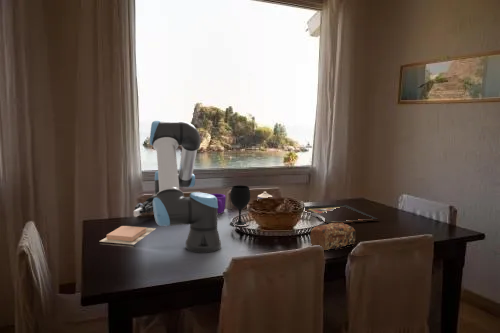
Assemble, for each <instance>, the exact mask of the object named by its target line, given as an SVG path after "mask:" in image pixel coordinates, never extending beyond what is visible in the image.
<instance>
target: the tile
mask: <svg viewBox="0 0 500 333" xmlns="http://www.w3.org/2000/svg"><path fill="white" fill-rule="evenodd" d="M131 226H132V225H121V226H119V227H118V228H115V229H114V230H113V231H111V232H108V233H107V234H106V237H107V239H108V240H116V241H128V242H132V241H134V240H135V239H137V238H138V237H139V236H141V235H142V234H144V233H145V232H146V228H144V227H145V226H134V227H131Z"/></svg>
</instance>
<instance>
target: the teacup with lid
mask: <svg viewBox="0 0 500 333" xmlns="http://www.w3.org/2000/svg"><path fill="white" fill-rule="evenodd" d="M268 197H272V198H273V195H271V194H269V193H267V191H263V193H261V194H258V195H257V200H258V199H263V198H268Z"/></svg>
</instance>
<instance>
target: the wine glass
mask: <svg viewBox="0 0 500 333" xmlns="http://www.w3.org/2000/svg"><path fill="white" fill-rule="evenodd" d="M250 201H251V191H250V186H248V185H241V184H239V185H238V184H237V185H233V186H231V190H230V202H231V203H232V205H233V206H234V207H235V208H236V209H238V220H237V221H238V222H236V223H235V224H237V225H244V224H246V222H247V221H245V222H242V221H243V220H242V218H241V217H242V216H241V215H242V210H243V209H244V208H245V207H247V206H248V205H249V203H250ZM232 222H233V221H231V222H229V226H232V227H234V225H233V223H232Z"/></svg>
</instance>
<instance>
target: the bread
mask: <svg viewBox="0 0 500 333" xmlns="http://www.w3.org/2000/svg"><path fill="white" fill-rule="evenodd" d="M356 233H357V232H356V229H354V227H353V226H350V225H349V224H344V223H331V224H326V223H325V224H322V225H317V226H315V227H313V228H311V230H310V235H309V236H310V245H311V244H312V245H320V246H322V247H323V248H324V250H328V249H332V248H337V247H342V246H346V245H350V244H355V241H356V235H357V234H356ZM312 245H311V246H312ZM328 251H329V250H328Z"/></svg>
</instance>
